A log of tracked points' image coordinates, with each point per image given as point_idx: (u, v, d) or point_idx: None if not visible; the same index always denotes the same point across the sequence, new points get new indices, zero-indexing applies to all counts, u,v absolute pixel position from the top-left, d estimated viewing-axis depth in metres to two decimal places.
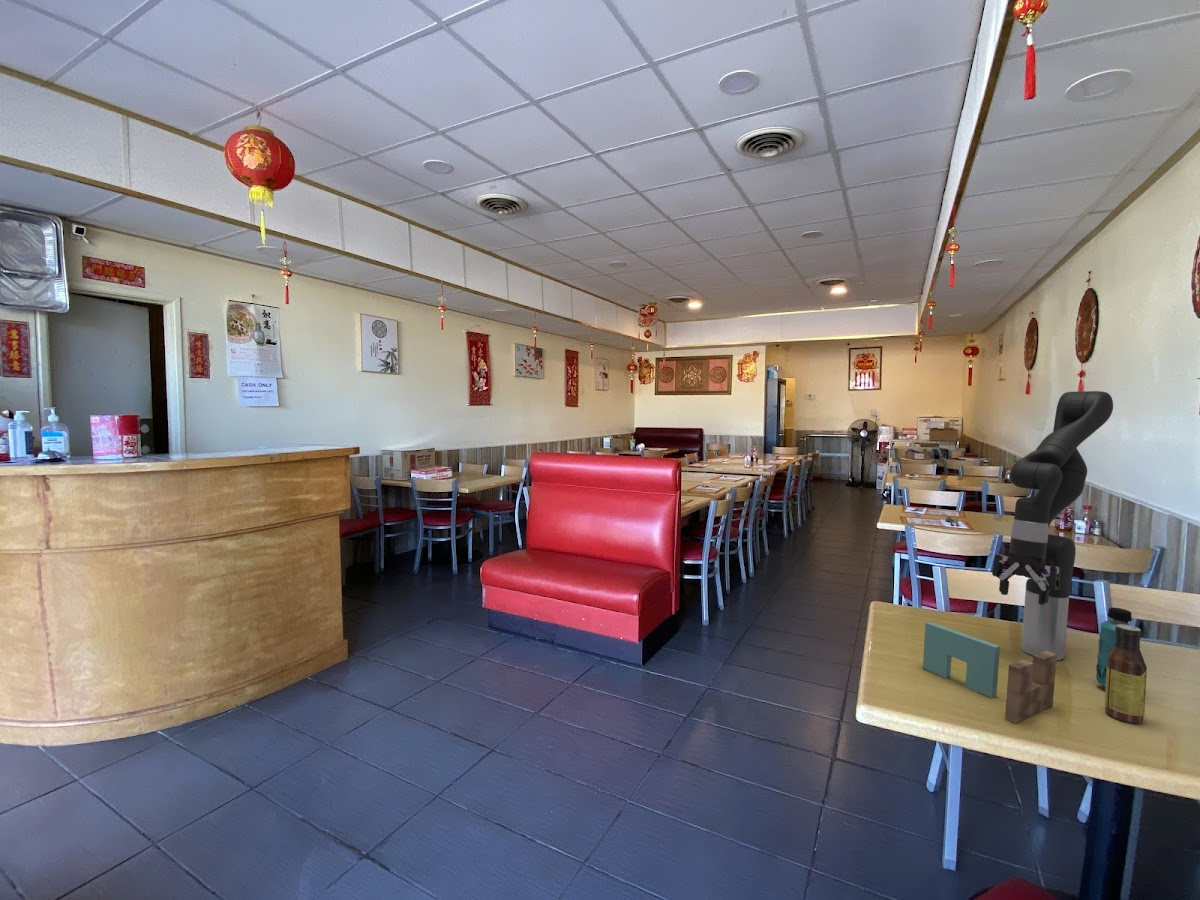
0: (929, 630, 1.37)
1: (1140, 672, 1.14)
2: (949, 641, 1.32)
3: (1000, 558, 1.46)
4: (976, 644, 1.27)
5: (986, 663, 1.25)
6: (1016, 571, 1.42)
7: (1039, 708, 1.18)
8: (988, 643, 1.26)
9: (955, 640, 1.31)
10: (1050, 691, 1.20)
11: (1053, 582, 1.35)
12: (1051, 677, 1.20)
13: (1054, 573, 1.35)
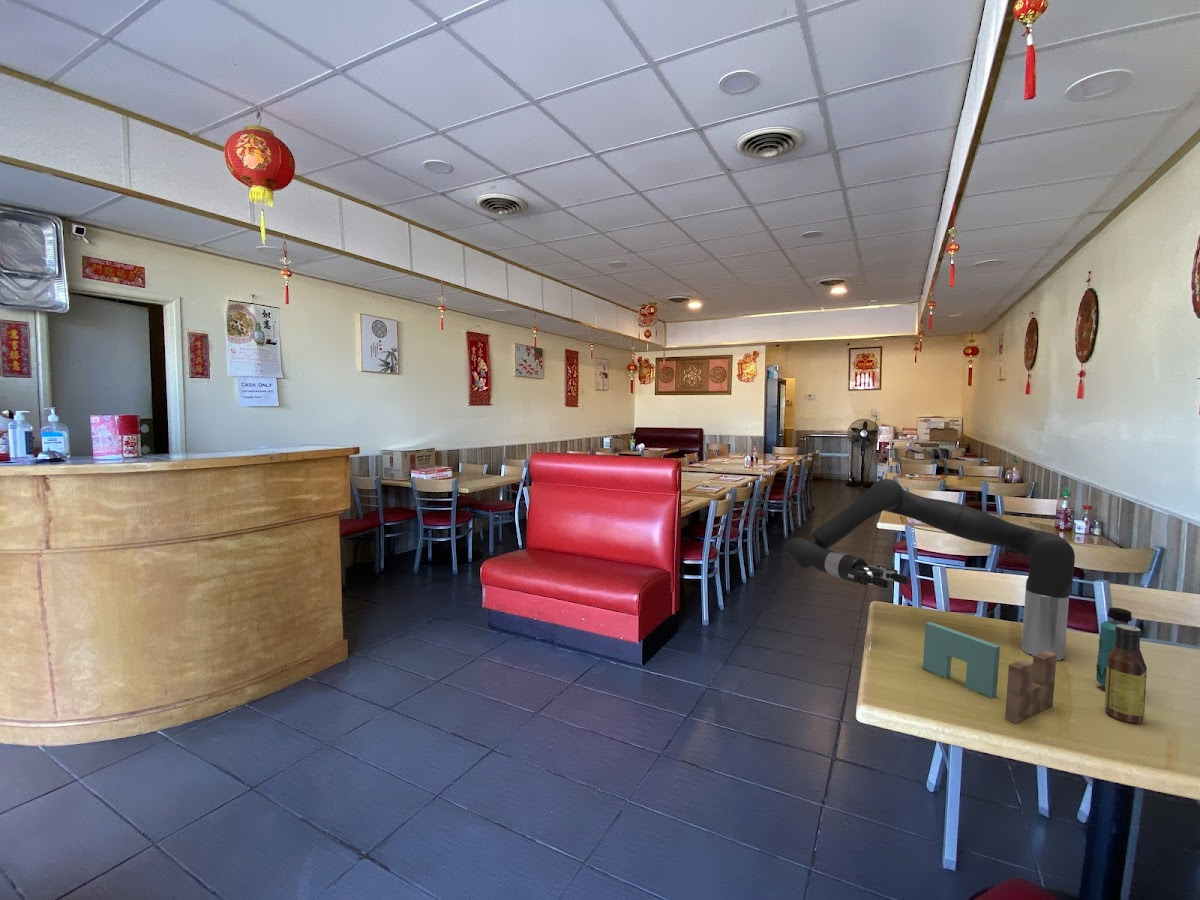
0: (929, 630, 1.37)
1: (1140, 672, 1.14)
2: (949, 641, 1.32)
3: None
4: (976, 644, 1.27)
5: (986, 663, 1.25)
6: None
7: (1039, 708, 1.18)
8: (988, 643, 1.26)
9: (955, 640, 1.31)
10: (1050, 691, 1.20)
11: (859, 582, 1.48)
12: (1051, 677, 1.20)
13: None
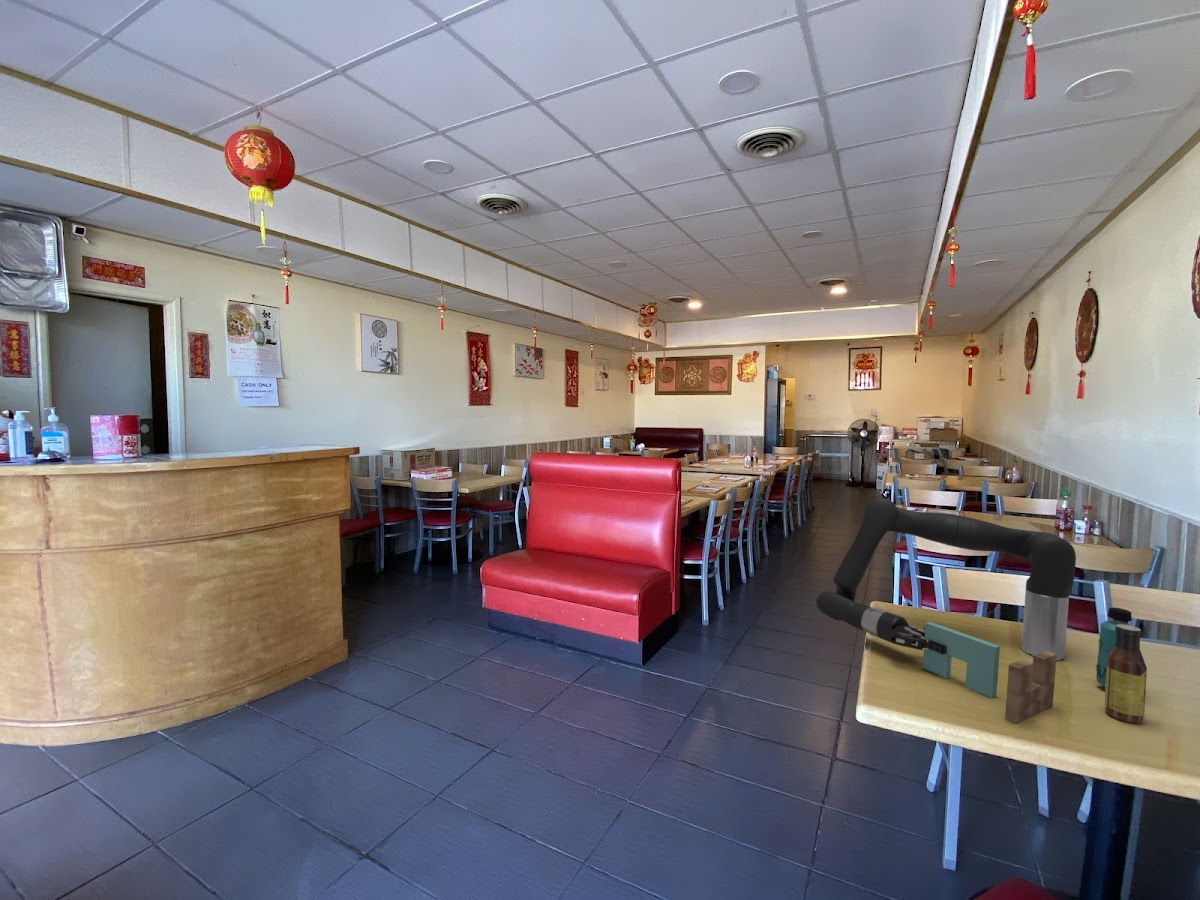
0: (929, 630, 1.37)
1: (1140, 672, 1.14)
2: (949, 641, 1.32)
3: None
4: (976, 644, 1.27)
5: (986, 663, 1.25)
6: None
7: (1039, 708, 1.18)
8: (988, 643, 1.26)
9: (955, 640, 1.31)
10: (1050, 691, 1.20)
11: None
12: (1051, 677, 1.20)
13: None
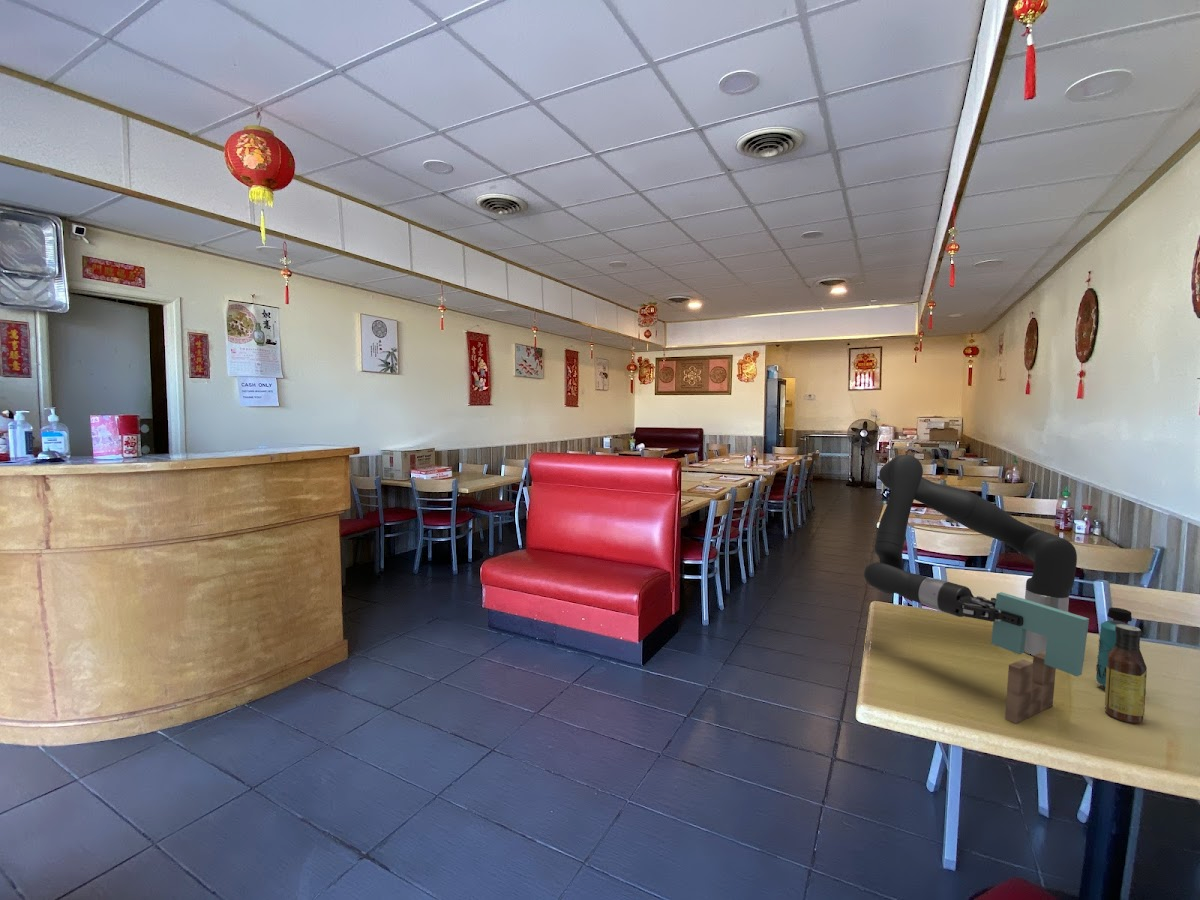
0: (1001, 601, 1.22)
1: (1140, 672, 1.14)
2: (1026, 613, 1.18)
3: None
4: (1060, 616, 1.12)
5: (1072, 637, 1.11)
6: None
7: (1039, 708, 1.18)
8: (1075, 615, 1.11)
9: (1033, 612, 1.17)
10: (1050, 691, 1.20)
11: None
12: (1051, 677, 1.20)
13: None
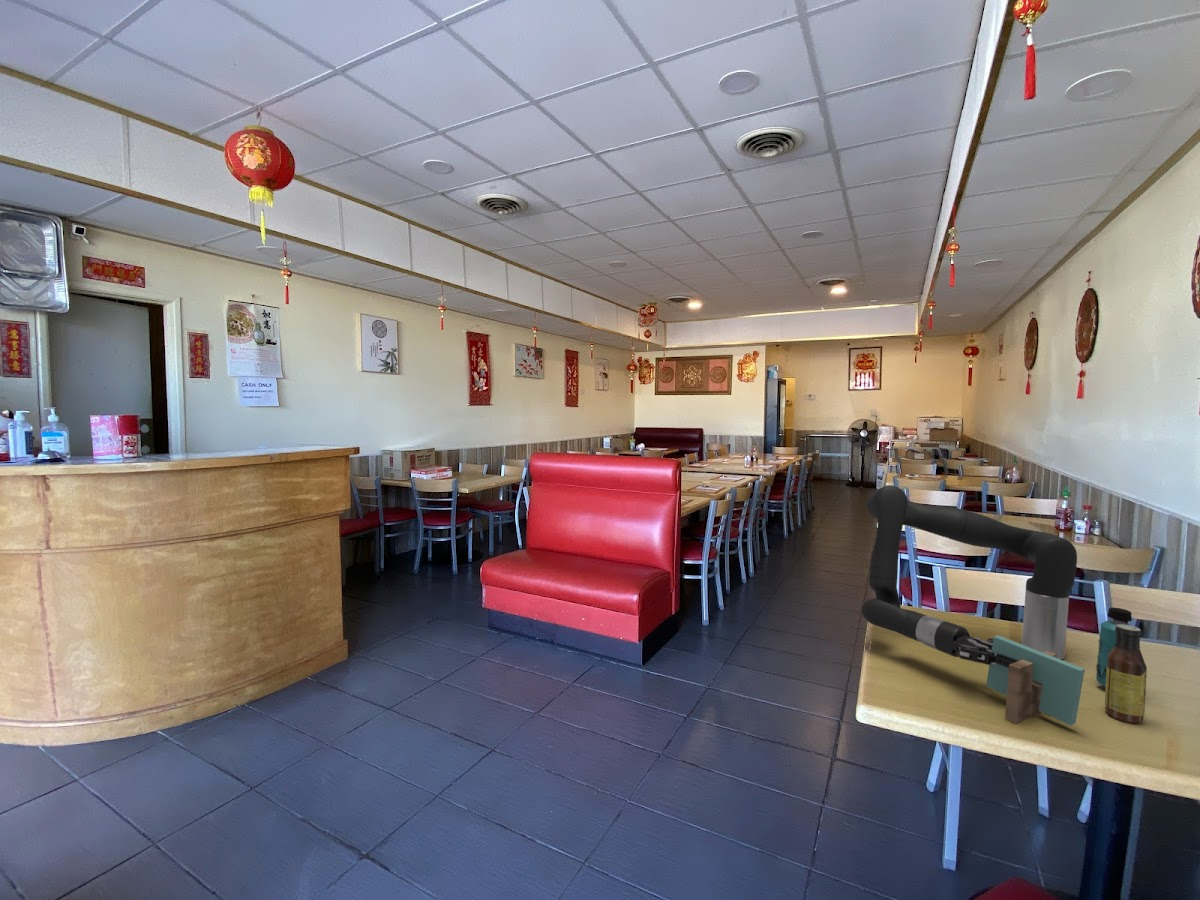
0: (997, 645, 1.23)
1: (1140, 672, 1.14)
2: (1022, 659, 1.19)
3: None
4: (1056, 665, 1.13)
5: (1067, 687, 1.11)
6: None
7: None
8: (1071, 665, 1.12)
9: (1029, 658, 1.17)
10: None
11: None
12: None
13: None
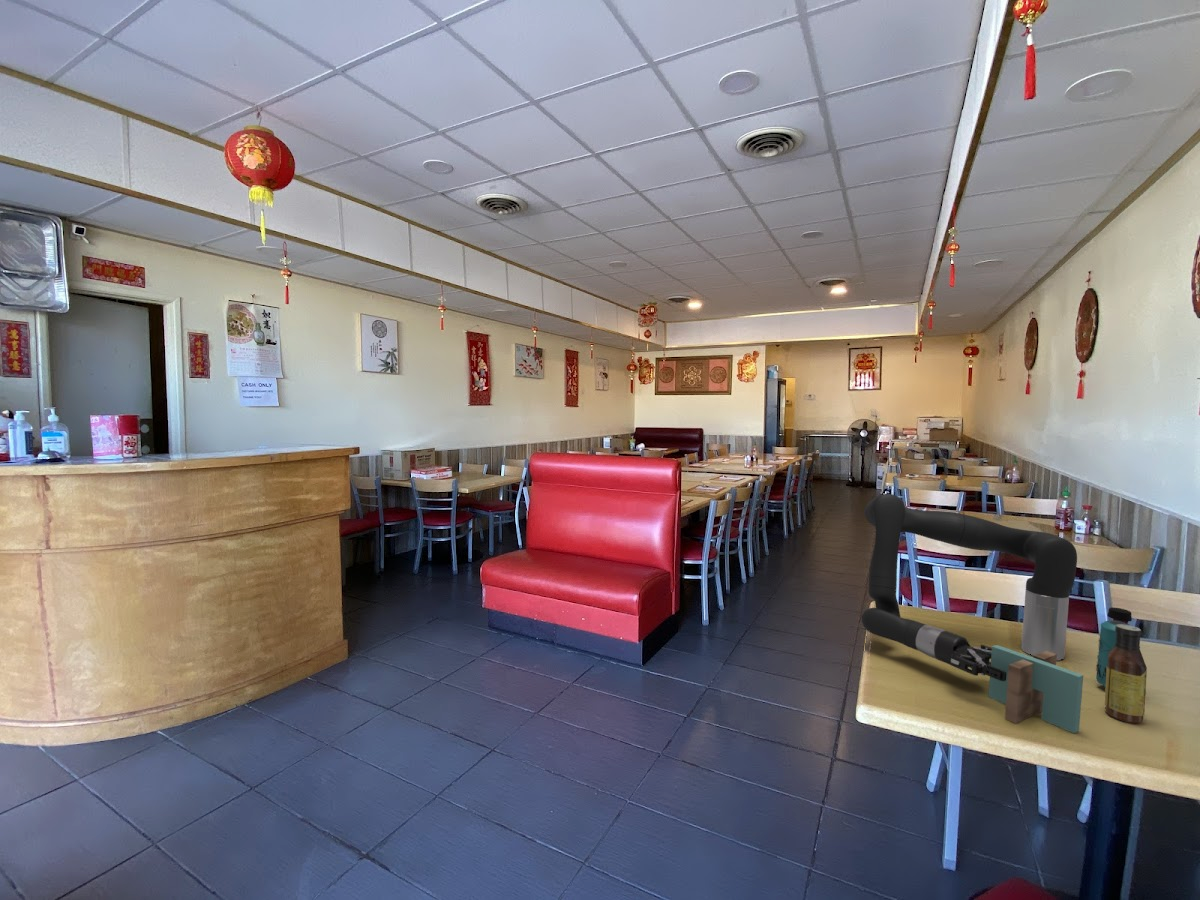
0: (996, 654, 1.23)
1: (1140, 672, 1.14)
2: None
3: None
4: (1055, 672, 1.13)
5: (1067, 694, 1.11)
6: None
7: (1039, 708, 1.18)
8: (1069, 671, 1.12)
9: None
10: None
11: None
12: None
13: None
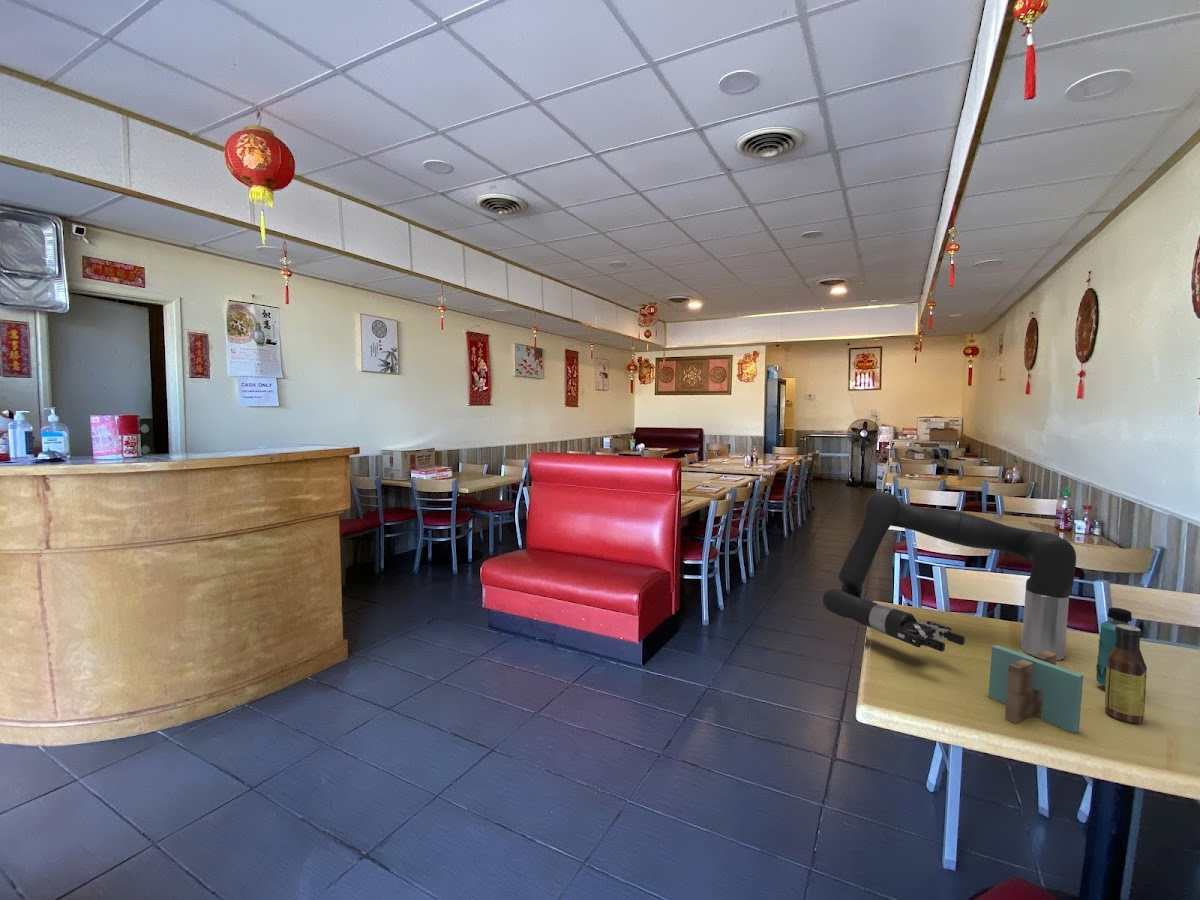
0: (996, 654, 1.23)
1: (1140, 672, 1.14)
2: None
3: None
4: (1055, 672, 1.13)
5: (1067, 694, 1.11)
6: None
7: (1039, 708, 1.18)
8: (1069, 671, 1.12)
9: None
10: None
11: None
12: None
13: None
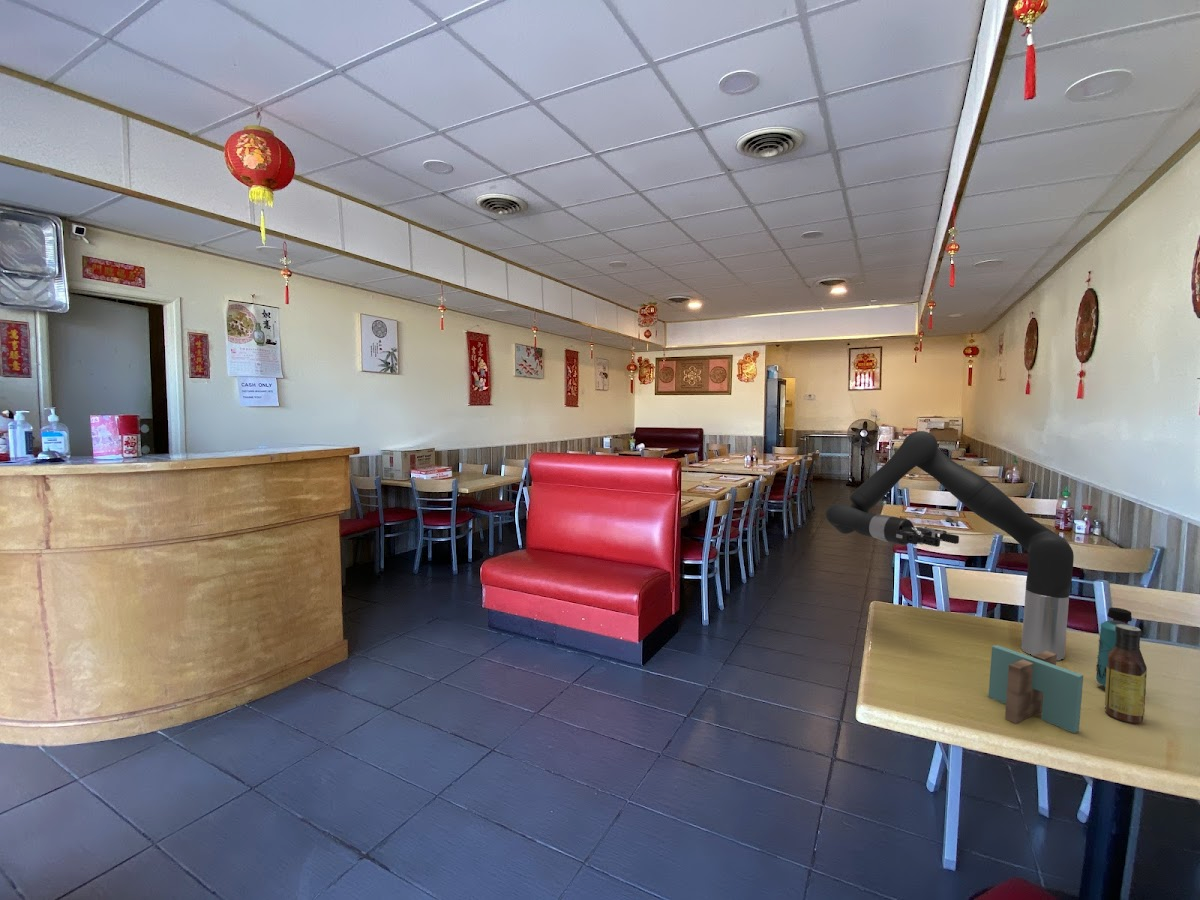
0: (996, 654, 1.23)
1: (1140, 672, 1.14)
2: None
3: None
4: (1055, 672, 1.13)
5: (1067, 694, 1.11)
6: None
7: (1039, 708, 1.18)
8: (1069, 671, 1.12)
9: None
10: None
11: (909, 542, 1.44)
12: None
13: None
